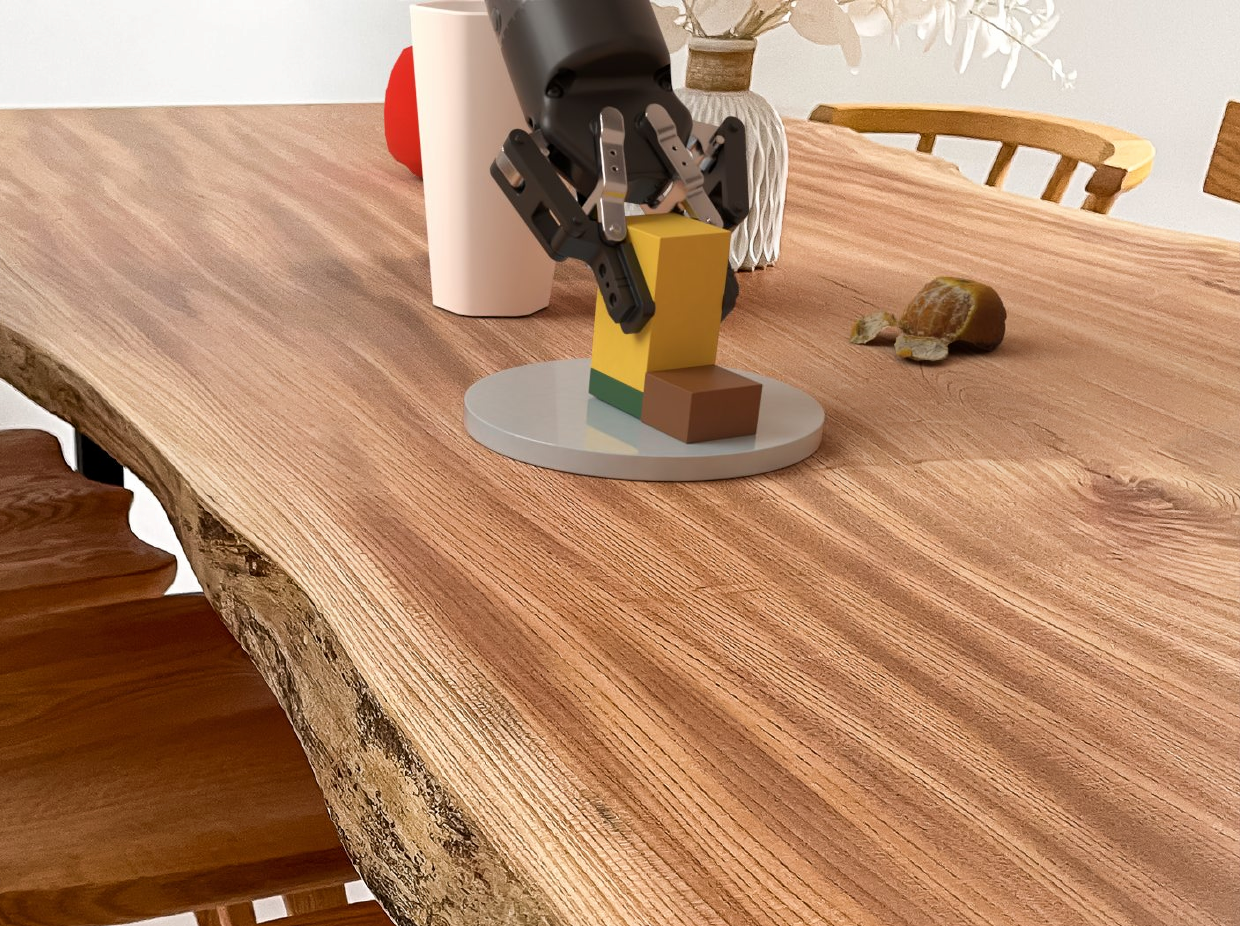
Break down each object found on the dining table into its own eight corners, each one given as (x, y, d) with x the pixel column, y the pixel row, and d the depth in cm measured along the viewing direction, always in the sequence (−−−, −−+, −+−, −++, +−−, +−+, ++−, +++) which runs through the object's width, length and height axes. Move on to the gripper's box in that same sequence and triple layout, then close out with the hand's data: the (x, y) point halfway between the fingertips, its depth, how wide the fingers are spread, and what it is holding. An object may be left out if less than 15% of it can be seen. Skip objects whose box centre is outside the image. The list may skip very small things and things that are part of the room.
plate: (766, 377, 98) (769, 355, 97) (870, 479, 82) (874, 453, 82) (444, 380, 97) (444, 358, 96) (488, 484, 81) (489, 458, 81)
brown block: (708, 412, 87) (714, 363, 86) (756, 434, 84) (763, 383, 83) (640, 421, 86) (644, 372, 85) (686, 444, 83) (692, 393, 82)
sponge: (587, 393, 90) (603, 217, 85) (654, 385, 91) (672, 211, 87) (641, 420, 86) (660, 237, 82) (709, 411, 87) (732, 231, 83)
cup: (404, 323, 108) (412, 12, 99) (400, 286, 117) (407, -3, 108) (586, 324, 108) (610, 13, 99) (569, 288, 117) (590, -1, 108)
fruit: (833, 334, 106) (843, 270, 104) (950, 324, 109) (962, 262, 107) (914, 368, 100) (925, 301, 98) (1037, 356, 102) (1050, 291, 100)
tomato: (378, 188, 149) (380, 51, 144) (386, 163, 161) (389, 35, 155) (539, 191, 148) (547, 53, 143) (537, 166, 160) (544, 37, 154)
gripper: (472, -37, 82) (587, 287, 79) (727, -43, 87) (845, 261, 84) (417, 76, 89) (522, 378, 86) (657, 64, 94) (763, 349, 91)
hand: (681, 318), depth 85 cm, fingers closed on sponge, 4 cm apart
